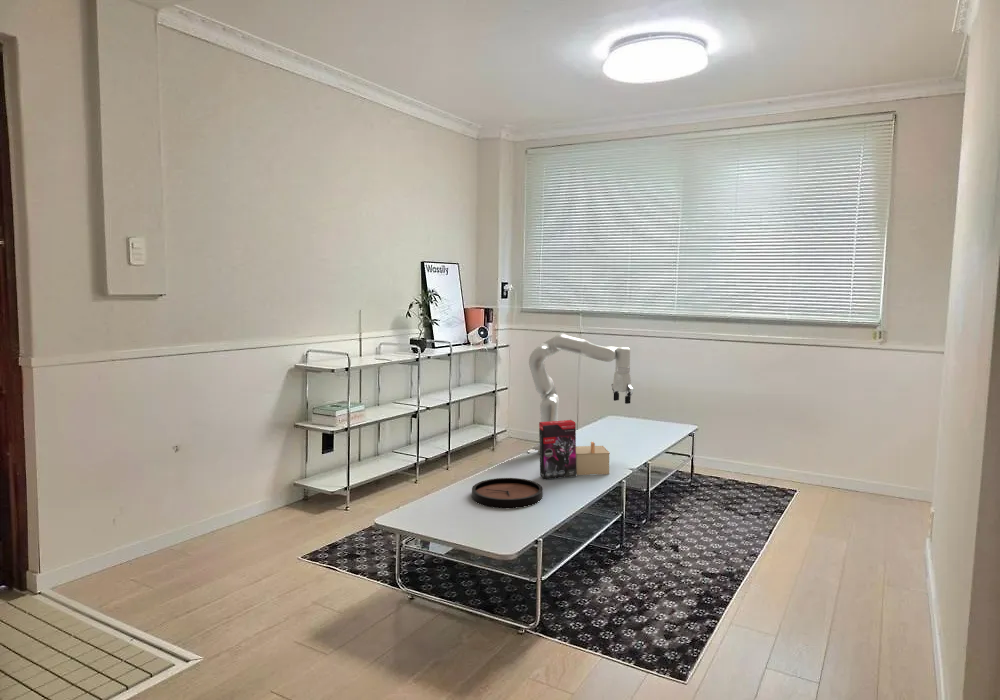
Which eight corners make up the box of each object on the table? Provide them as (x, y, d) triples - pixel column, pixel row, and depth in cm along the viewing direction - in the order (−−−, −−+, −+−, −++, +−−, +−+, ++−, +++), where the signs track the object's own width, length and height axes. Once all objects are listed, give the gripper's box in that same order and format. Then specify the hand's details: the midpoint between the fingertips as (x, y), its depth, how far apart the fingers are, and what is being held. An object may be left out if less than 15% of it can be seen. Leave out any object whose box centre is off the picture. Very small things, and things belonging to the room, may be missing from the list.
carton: (577, 475, 331) (577, 455, 330) (571, 467, 345) (571, 447, 344) (609, 474, 333) (609, 454, 331) (602, 466, 346) (602, 447, 345)
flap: (576, 454, 330) (576, 443, 329) (571, 447, 344) (571, 436, 343) (609, 454, 331) (609, 442, 331) (603, 446, 345) (603, 436, 345)
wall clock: (557, 488, 300) (507, 505, 278) (557, 496, 300) (507, 514, 278) (507, 473, 322) (457, 488, 300) (507, 481, 322) (457, 497, 301)
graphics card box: (543, 480, 323) (543, 424, 320) (538, 476, 329) (538, 421, 326) (576, 477, 327) (577, 422, 324) (571, 473, 334) (571, 419, 331)
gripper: (607, 368, 366) (606, 399, 368) (627, 372, 351) (626, 405, 353) (618, 367, 370) (617, 398, 371) (638, 371, 354) (637, 404, 356)
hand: (621, 401), depth 362 cm, fingers open, 9 cm apart
